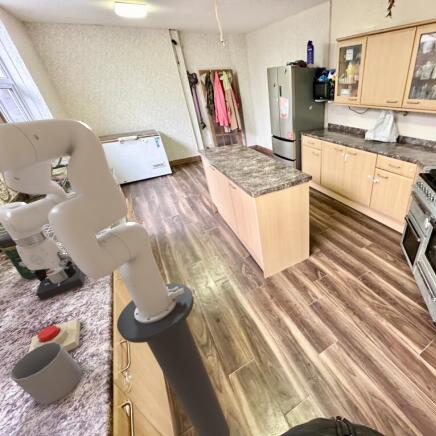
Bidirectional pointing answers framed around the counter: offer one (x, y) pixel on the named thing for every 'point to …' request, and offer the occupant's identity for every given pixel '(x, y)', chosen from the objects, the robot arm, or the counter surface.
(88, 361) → the counter surface
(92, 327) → the counter surface
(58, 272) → the timer knob
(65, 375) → the cup
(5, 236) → the coffee jar
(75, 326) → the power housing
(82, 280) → the fryer panel
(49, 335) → the power button
